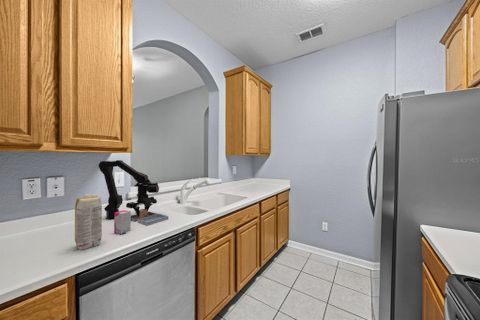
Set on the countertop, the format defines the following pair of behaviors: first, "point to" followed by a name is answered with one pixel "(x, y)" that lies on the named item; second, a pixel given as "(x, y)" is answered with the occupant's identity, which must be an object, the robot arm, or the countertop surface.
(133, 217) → the bin
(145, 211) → the brown cube
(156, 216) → the tray
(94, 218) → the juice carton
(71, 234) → the countertop surface
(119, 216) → the supplement box
